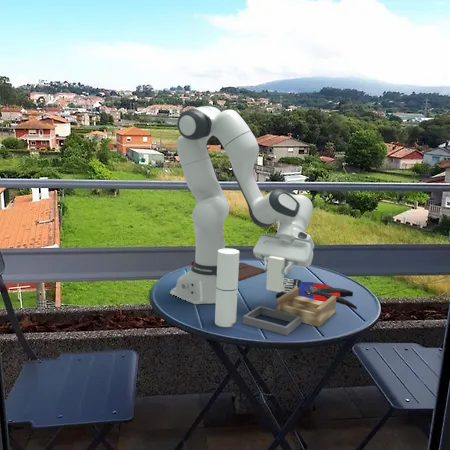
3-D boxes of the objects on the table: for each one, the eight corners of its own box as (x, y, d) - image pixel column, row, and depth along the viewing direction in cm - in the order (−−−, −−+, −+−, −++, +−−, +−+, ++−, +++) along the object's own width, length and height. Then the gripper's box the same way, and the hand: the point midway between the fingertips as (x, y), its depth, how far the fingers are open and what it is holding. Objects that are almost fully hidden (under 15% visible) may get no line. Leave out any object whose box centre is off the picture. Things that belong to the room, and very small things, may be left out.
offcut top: (293, 302, 173) (293, 298, 173) (298, 299, 177) (298, 295, 176) (319, 309, 168) (319, 305, 168) (323, 306, 171) (324, 302, 171)
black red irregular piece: (274, 304, 183) (355, 314, 178) (275, 295, 182) (357, 305, 177) (279, 283, 208) (350, 292, 203) (279, 275, 207) (351, 283, 202)
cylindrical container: (210, 322, 163) (213, 250, 158) (224, 316, 168) (227, 247, 163) (226, 329, 158) (229, 255, 153) (240, 323, 163) (243, 251, 158)
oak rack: (275, 318, 169) (276, 299, 167) (293, 304, 182) (295, 287, 181) (319, 329, 161) (320, 309, 159) (334, 314, 174) (336, 296, 173)
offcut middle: (293, 306, 173) (293, 303, 173) (297, 303, 177) (297, 299, 176) (320, 312, 169) (320, 308, 168) (323, 309, 172) (323, 305, 172)
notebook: (266, 273, 222) (266, 268, 222) (239, 282, 208) (239, 277, 207) (241, 265, 232) (241, 261, 232) (213, 274, 217) (213, 270, 217)
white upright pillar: (266, 289, 159) (267, 257, 157) (269, 287, 161) (271, 255, 159) (280, 292, 157) (281, 259, 155) (283, 290, 159) (285, 258, 157)
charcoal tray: (242, 326, 161) (242, 316, 160) (258, 315, 171) (259, 305, 170) (286, 338, 153) (287, 328, 152) (301, 326, 163) (301, 316, 162)
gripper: (259, 227, 167) (244, 261, 160) (315, 236, 156) (301, 272, 150) (264, 238, 171) (249, 271, 165) (319, 247, 161) (305, 282, 155)
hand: (274, 271), depth 157 cm, fingers closed on white upright pillar, 5 cm apart
